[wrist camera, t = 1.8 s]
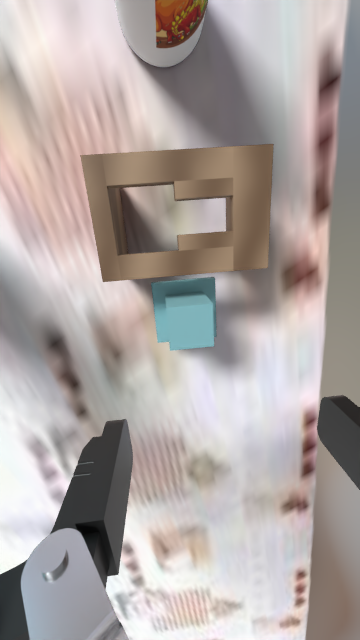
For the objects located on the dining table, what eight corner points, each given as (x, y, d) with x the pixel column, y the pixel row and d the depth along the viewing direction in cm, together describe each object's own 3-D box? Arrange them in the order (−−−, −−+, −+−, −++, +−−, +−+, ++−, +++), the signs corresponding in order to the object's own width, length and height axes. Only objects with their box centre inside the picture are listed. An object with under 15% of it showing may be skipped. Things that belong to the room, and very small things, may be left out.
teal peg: (158, 327, 31) (157, 364, 22) (152, 276, 29) (148, 294, 20) (208, 322, 31) (228, 357, 22) (206, 272, 29) (227, 287, 20)
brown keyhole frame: (120, 269, 28) (103, 282, 20) (107, 184, 25) (80, 155, 17) (236, 259, 29) (267, 267, 20) (236, 175, 26) (273, 143, 17)
